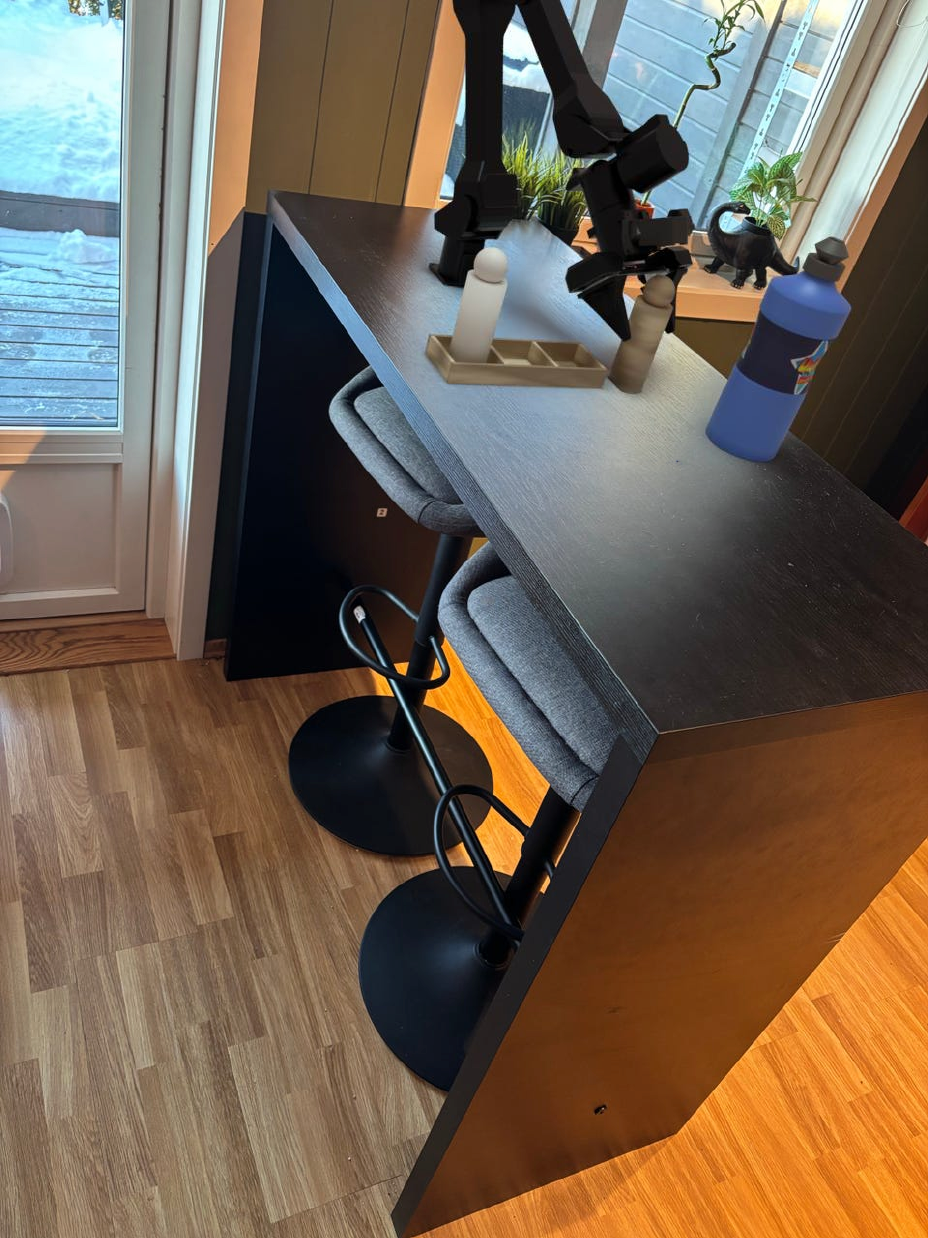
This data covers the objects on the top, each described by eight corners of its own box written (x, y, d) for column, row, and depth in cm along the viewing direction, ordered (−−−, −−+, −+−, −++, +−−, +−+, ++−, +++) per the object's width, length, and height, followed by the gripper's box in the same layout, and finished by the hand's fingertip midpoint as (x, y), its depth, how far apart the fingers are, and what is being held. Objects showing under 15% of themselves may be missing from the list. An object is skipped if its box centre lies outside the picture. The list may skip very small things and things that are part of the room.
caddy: (423, 359, 114) (429, 333, 112) (572, 365, 123) (580, 342, 121) (446, 389, 109) (453, 363, 107) (599, 393, 118) (608, 370, 116)
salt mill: (439, 358, 113) (468, 238, 104) (474, 360, 115) (504, 242, 106) (454, 377, 110) (485, 254, 101) (489, 378, 112) (522, 258, 103)
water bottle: (789, 453, 118) (892, 254, 103) (752, 469, 112) (856, 260, 97) (728, 417, 123) (819, 221, 107) (690, 430, 117) (780, 224, 101)
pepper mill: (601, 375, 123) (639, 266, 114) (630, 376, 125) (669, 269, 116) (618, 392, 120) (659, 282, 111) (648, 393, 122) (690, 285, 113)
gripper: (617, 180, 104) (657, 319, 106) (710, 180, 116) (745, 305, 118) (545, 225, 113) (584, 353, 114) (639, 220, 125) (672, 337, 126)
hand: (649, 336), depth 118 cm, fingers open, 9 cm apart
